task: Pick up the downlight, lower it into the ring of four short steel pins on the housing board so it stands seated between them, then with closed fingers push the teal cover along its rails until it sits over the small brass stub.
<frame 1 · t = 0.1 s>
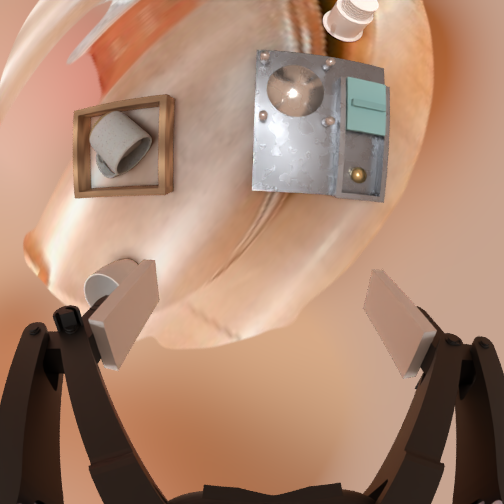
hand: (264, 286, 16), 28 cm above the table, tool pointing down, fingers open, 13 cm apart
ceramic mug: (125, 148, 39), resting in wooden caddy
cover: (366, 106, 32), point 5 cm above the table, slide at 0.0 cm
wooden caddy: (125, 148, 39), on the table
housing board: (320, 123, 38), on the table
cup: (129, 271, 47), on the table
downlight: (342, 25, 31), on the table
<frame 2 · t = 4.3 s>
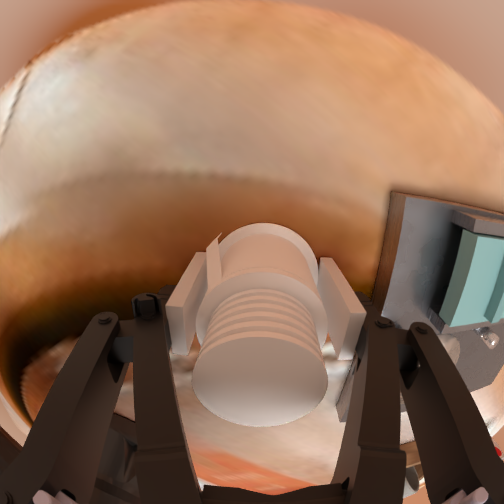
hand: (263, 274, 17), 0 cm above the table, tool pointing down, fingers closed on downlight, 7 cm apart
ceramic mug: (389, 466, 30), resting in wooden caddy
cover: (497, 281, 13), point 5 cm above the table, slide at 0.0 cm
wooden caddy: (387, 466, 30), on the table
housing board: (463, 317, 19), on the table
downlight: (262, 273, 18), on the table, touching gripper
when the fingers open (4 cm above the table, at t = 8.8 s): downlight drops 1 cm, resting on housing board.
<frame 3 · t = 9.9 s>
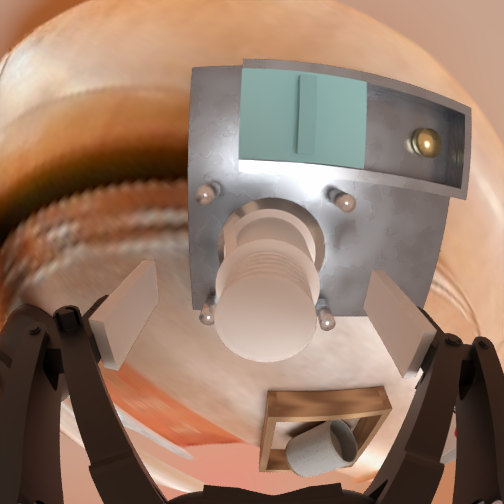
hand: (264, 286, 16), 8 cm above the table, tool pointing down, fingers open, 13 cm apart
ceramic mug: (324, 431, 33), resting in wooden caddy
cover: (304, 115, 15), point 5 cm above the table, slide at 0.0 cm
wooden caddy: (315, 426, 32), on the table
housing board: (328, 197, 22), on the table
cup: (435, 410, 32), on the table
downlight: (268, 251, 21), point 2 cm above the table, touching housing board
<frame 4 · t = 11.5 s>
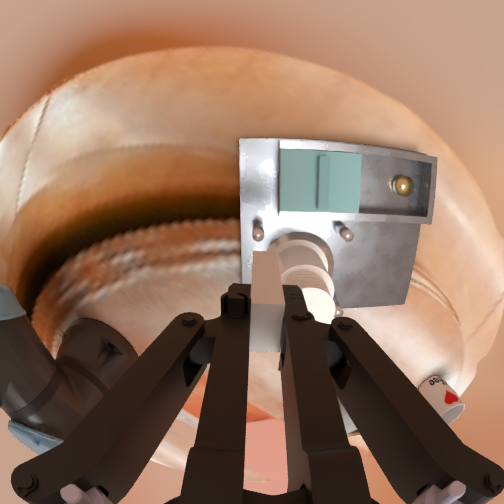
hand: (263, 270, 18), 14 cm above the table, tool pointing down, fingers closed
ceramic mug: (338, 403, 43), resting in wooden caddy
cover: (321, 181, 25), point 5 cm above the table, slide at 0.0 cm
housing board: (334, 227, 32), on the table
cup: (428, 384, 42), on the table
downlight: (296, 267, 31), point 2 cm above the table, touching housing board
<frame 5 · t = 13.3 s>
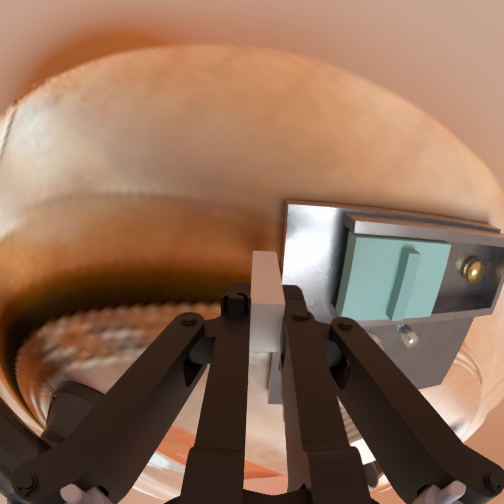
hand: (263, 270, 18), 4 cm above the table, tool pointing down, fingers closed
ceramic mug: (350, 462, 35), resting in wooden caddy
cover: (398, 281, 17), point 5 cm above the table, slide at 0.0 cm
housing board: (388, 314, 23), on the table
downlight: (339, 364, 23), point 2 cm above the table, touching housing board
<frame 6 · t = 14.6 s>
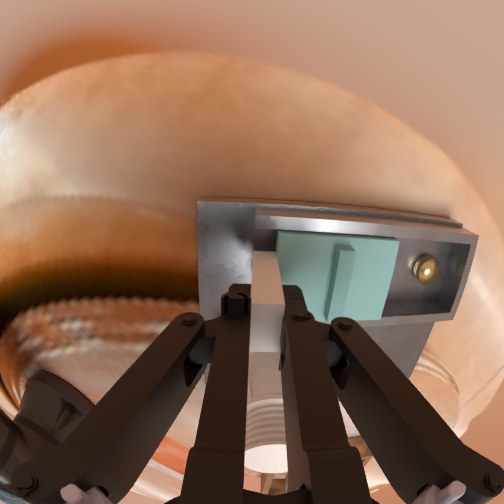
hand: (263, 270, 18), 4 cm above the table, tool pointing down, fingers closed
cover: (336, 280, 17), point 5 cm above the table, slide at 1.5 cm, touching gripper
wooden caddy: (309, 463, 34), on the table
housing board: (328, 316, 24), on the table
downlight: (273, 365, 23), point 2 cm above the table, touching housing board
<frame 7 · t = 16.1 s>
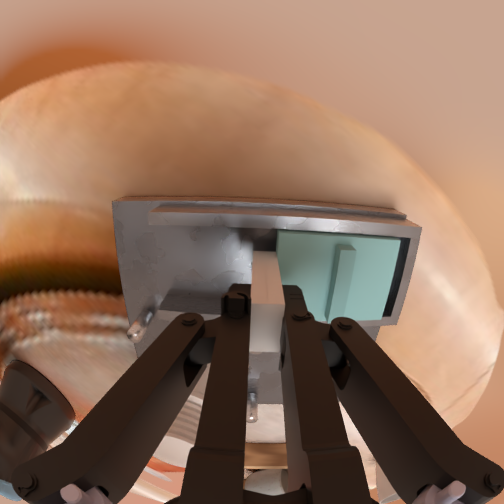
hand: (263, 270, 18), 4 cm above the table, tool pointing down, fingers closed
ceramic mug: (280, 469, 35), resting in wooden caddy
cover: (336, 280, 17), point 5 cm above the table, slide at 8.1 cm, touching gripper
wooden caddy: (270, 465, 34), on the table
housing board: (254, 314, 23), on the table
cup: (388, 452, 35), on the table
downlight: (200, 361, 23), point 2 cm above the table, touching housing board
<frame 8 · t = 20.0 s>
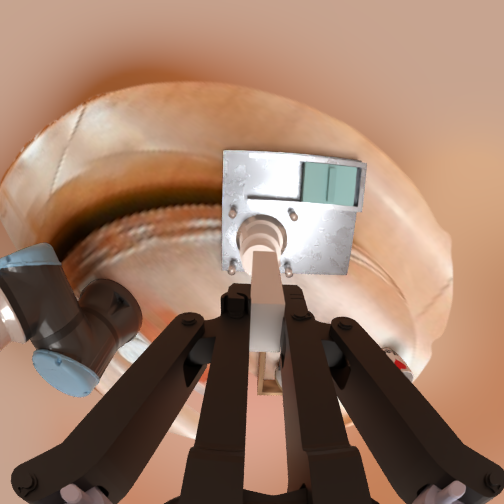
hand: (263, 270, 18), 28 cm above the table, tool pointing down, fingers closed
cover: (330, 184, 39), point 5 cm above the table, slide at 8.2 cm
wooden caddy: (294, 357, 56), on the table
housing board: (289, 213, 45), on the table
cup: (382, 355, 56), on the table
downlight: (260, 239, 45), point 2 cm above the table, touching housing board
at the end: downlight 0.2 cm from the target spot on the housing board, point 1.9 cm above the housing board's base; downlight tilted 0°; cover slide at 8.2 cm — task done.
